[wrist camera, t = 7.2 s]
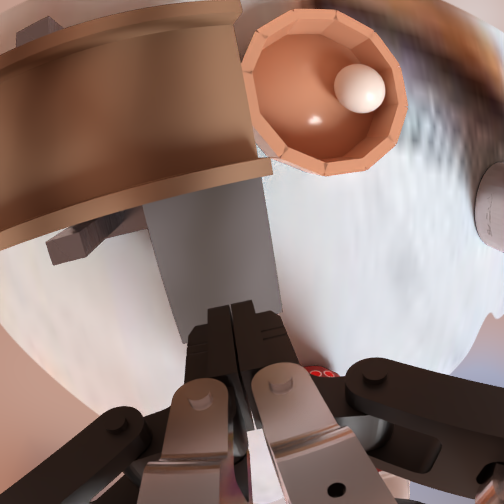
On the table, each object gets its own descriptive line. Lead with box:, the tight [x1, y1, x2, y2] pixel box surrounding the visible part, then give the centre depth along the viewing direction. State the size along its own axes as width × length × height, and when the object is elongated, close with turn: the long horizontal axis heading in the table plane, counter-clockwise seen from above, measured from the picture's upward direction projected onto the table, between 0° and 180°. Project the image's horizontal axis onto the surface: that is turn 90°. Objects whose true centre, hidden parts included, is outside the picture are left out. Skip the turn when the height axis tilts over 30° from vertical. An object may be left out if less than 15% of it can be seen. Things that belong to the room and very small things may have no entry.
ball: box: [334, 64, 385, 113], centre depth 18 cm, size 4×4×4 cm
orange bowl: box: [241, 9, 408, 176], centre depth 18 cm, size 11×11×4 cm
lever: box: [0, 0, 283, 344], centre depth 13 cm, size 20×17×5 cm
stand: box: [16, 16, 148, 265], centre depth 15 cm, size 6×14×8 cm, turn 10°
